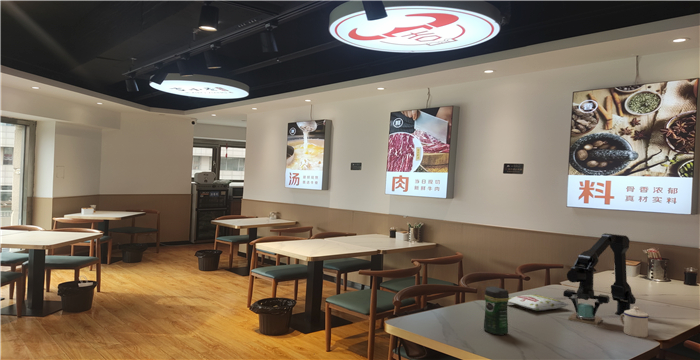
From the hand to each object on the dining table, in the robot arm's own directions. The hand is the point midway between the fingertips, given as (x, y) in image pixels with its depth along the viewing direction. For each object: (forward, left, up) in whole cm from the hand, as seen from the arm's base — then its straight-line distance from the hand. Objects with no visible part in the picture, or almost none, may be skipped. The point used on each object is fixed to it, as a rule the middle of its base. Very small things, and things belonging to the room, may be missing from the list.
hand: (585, 314), depth 216 cm
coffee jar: (+50, -24, -3) cm, 56 cm away
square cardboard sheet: (0, 0, -2) cm, 2 cm away
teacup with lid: (+8, +20, -3) cm, 22 cm away
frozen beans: (-6, -24, -3) cm, 25 cm away
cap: (0, 0, 0) cm, 0 cm away
